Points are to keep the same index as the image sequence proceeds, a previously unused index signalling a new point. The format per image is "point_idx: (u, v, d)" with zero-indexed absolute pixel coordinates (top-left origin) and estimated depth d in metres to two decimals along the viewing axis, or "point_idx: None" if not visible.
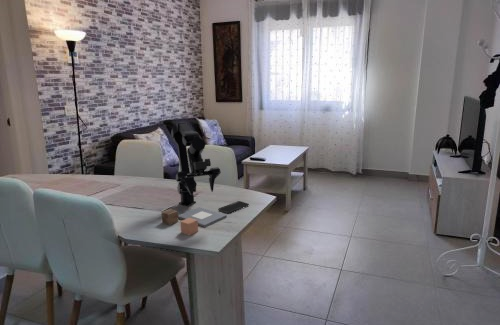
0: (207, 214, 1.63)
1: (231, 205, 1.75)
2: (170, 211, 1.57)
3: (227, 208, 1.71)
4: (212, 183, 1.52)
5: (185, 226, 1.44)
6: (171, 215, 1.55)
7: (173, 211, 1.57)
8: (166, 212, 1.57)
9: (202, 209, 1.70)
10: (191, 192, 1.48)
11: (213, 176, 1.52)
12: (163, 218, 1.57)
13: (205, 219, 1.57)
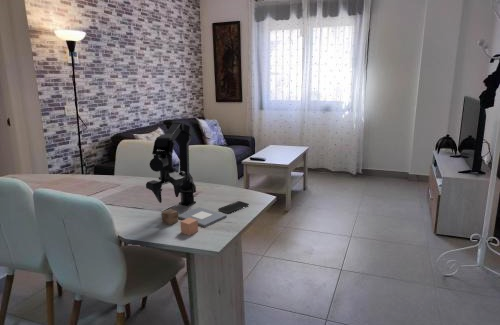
0: (207, 214, 1.63)
1: (231, 205, 1.75)
2: (170, 211, 1.57)
3: (227, 208, 1.71)
4: (178, 190, 1.58)
5: (185, 226, 1.44)
6: (171, 215, 1.55)
7: (173, 211, 1.57)
8: (166, 212, 1.56)
9: (202, 209, 1.70)
10: (161, 201, 1.52)
11: (181, 184, 1.57)
12: (163, 218, 1.57)
13: (205, 219, 1.57)
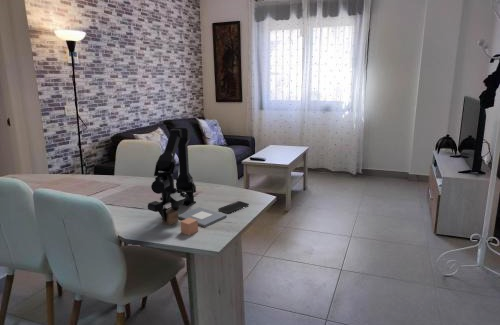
0: (207, 214, 1.63)
1: (231, 205, 1.75)
2: (170, 211, 1.57)
3: (227, 208, 1.71)
4: None
5: (185, 226, 1.44)
6: (171, 215, 1.55)
7: (173, 211, 1.57)
8: (166, 211, 1.56)
9: (202, 209, 1.70)
10: (166, 220, 1.55)
11: (179, 205, 1.58)
12: None
13: (205, 219, 1.57)
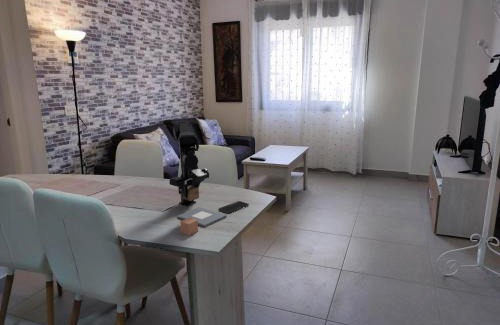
0: (207, 214, 1.63)
1: (231, 205, 1.75)
2: (191, 188, 1.57)
3: (227, 208, 1.71)
4: None
5: (185, 226, 1.44)
6: (192, 191, 1.55)
7: (194, 187, 1.58)
8: (187, 188, 1.57)
9: (202, 209, 1.70)
10: (187, 196, 1.56)
11: (200, 182, 1.59)
12: None
13: (205, 219, 1.57)
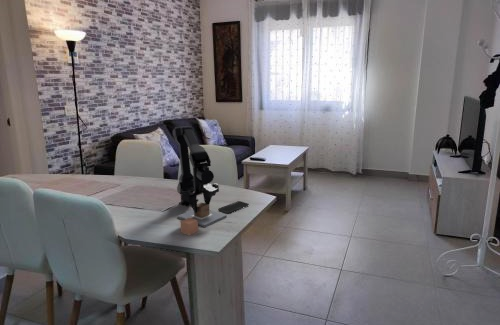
0: None
1: (231, 205, 1.75)
2: (202, 205, 1.61)
3: (227, 208, 1.71)
4: (209, 201, 1.63)
5: (185, 226, 1.44)
6: (203, 208, 1.59)
7: (205, 204, 1.61)
8: (198, 205, 1.60)
9: None
10: (196, 211, 1.58)
11: (211, 195, 1.62)
12: None
13: (205, 219, 1.57)
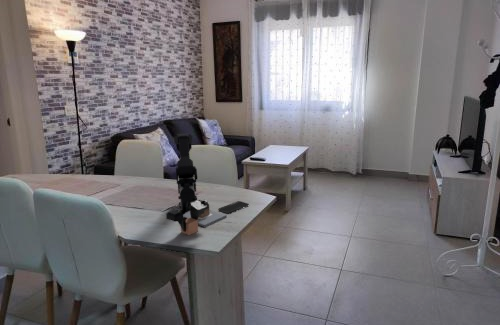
0: None
1: (231, 205, 1.75)
2: None
3: (227, 208, 1.71)
4: None
5: None
6: None
7: None
8: None
9: None
10: (185, 230, 1.45)
11: None
12: None
13: (205, 219, 1.57)
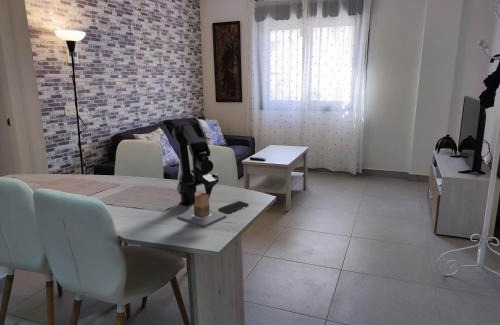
0: None
1: (231, 205, 1.75)
2: None
3: (227, 208, 1.71)
4: (210, 191, 1.63)
5: (198, 199, 1.58)
6: (203, 208, 1.59)
7: None
8: None
9: None
10: (194, 202, 1.57)
11: (213, 186, 1.62)
12: (195, 211, 1.61)
13: (205, 219, 1.57)
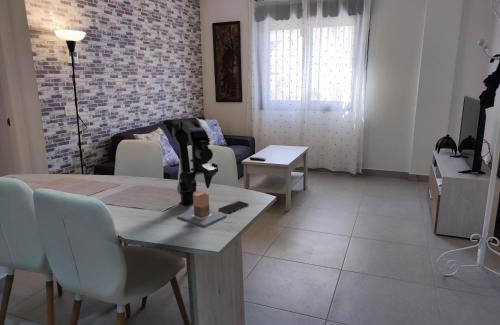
0: None
1: (231, 205, 1.75)
2: None
3: (228, 208, 1.71)
4: (209, 181, 1.62)
5: (198, 199, 1.58)
6: (203, 208, 1.59)
7: None
8: None
9: None
10: (194, 191, 1.55)
11: (212, 175, 1.61)
12: (195, 211, 1.61)
13: (205, 219, 1.57)
